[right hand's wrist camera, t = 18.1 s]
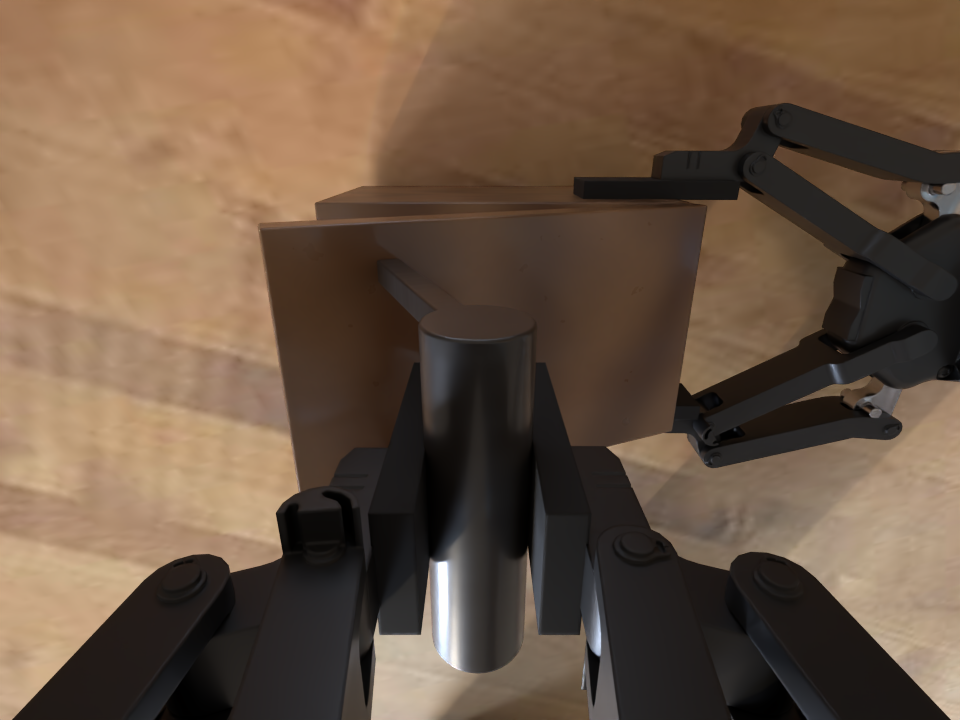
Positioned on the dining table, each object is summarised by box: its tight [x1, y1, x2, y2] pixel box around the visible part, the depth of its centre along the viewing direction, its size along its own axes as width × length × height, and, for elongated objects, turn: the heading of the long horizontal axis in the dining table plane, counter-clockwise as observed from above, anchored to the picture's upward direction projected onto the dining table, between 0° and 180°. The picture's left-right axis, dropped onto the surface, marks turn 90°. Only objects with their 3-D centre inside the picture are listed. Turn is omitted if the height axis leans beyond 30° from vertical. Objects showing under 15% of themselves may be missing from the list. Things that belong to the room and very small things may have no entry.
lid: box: [258, 203, 707, 673], centre depth 16 cm, size 16×10×9 cm, turn 89°
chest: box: [315, 186, 689, 220], centre depth 27 cm, size 15×10×9 cm, turn 90°
